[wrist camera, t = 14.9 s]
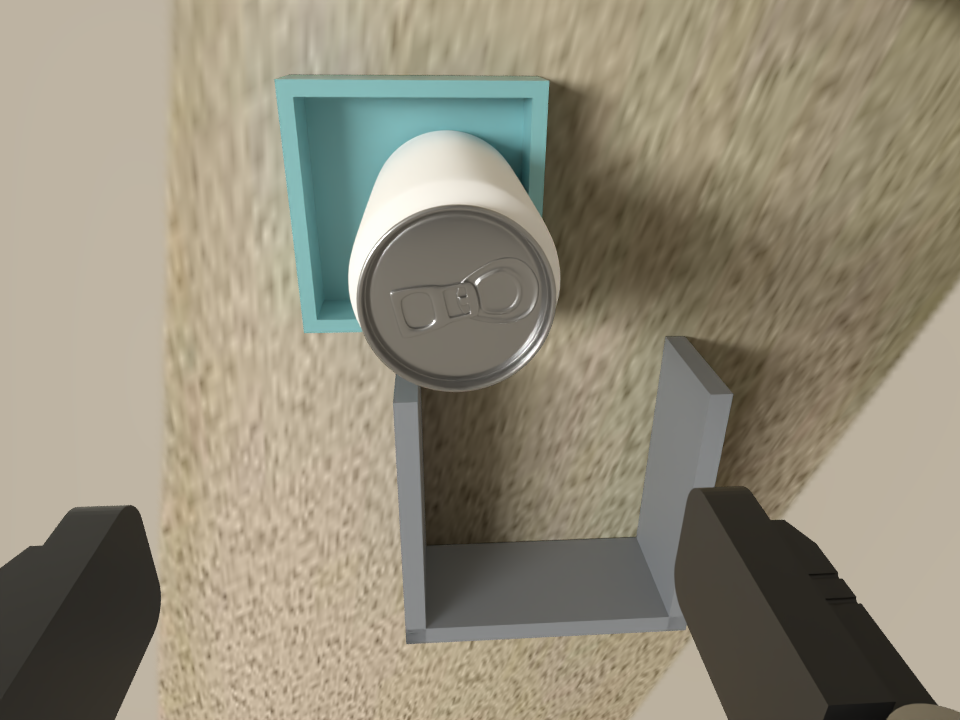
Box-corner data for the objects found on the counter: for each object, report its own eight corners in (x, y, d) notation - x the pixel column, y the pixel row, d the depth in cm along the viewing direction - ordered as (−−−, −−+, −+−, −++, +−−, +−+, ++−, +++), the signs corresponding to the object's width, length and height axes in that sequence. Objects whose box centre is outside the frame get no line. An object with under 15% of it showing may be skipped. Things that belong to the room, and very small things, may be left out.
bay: (398, 342, 33) (393, 402, 27) (684, 336, 34) (733, 394, 28) (409, 559, 39) (406, 643, 34) (650, 549, 40) (685, 630, 35)
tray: (289, 74, 27) (274, 79, 25) (537, 76, 28) (549, 80, 25) (314, 307, 32) (304, 333, 29) (527, 303, 32) (536, 328, 30)
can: (531, 258, 31) (586, 380, 20) (394, 288, 31) (376, 425, 20) (505, 112, 28) (553, 163, 17) (354, 146, 28) (308, 218, 17)
